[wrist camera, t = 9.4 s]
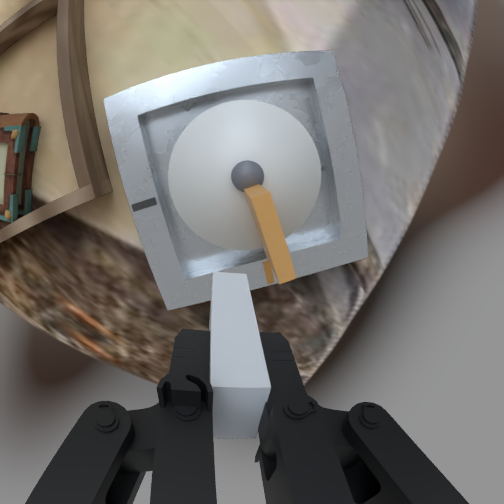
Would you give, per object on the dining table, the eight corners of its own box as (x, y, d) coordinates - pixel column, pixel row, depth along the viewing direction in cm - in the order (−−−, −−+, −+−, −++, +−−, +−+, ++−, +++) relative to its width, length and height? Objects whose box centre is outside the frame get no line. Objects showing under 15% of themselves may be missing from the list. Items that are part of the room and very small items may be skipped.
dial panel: (323, 55, 20) (337, 45, 17) (357, 249, 27) (373, 261, 24) (110, 102, 19) (96, 95, 16) (169, 299, 26) (164, 317, 23)
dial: (151, 134, 20) (125, 126, 13) (290, 88, 20) (317, 65, 13) (206, 271, 24) (203, 311, 18) (330, 225, 24) (366, 250, 18)
